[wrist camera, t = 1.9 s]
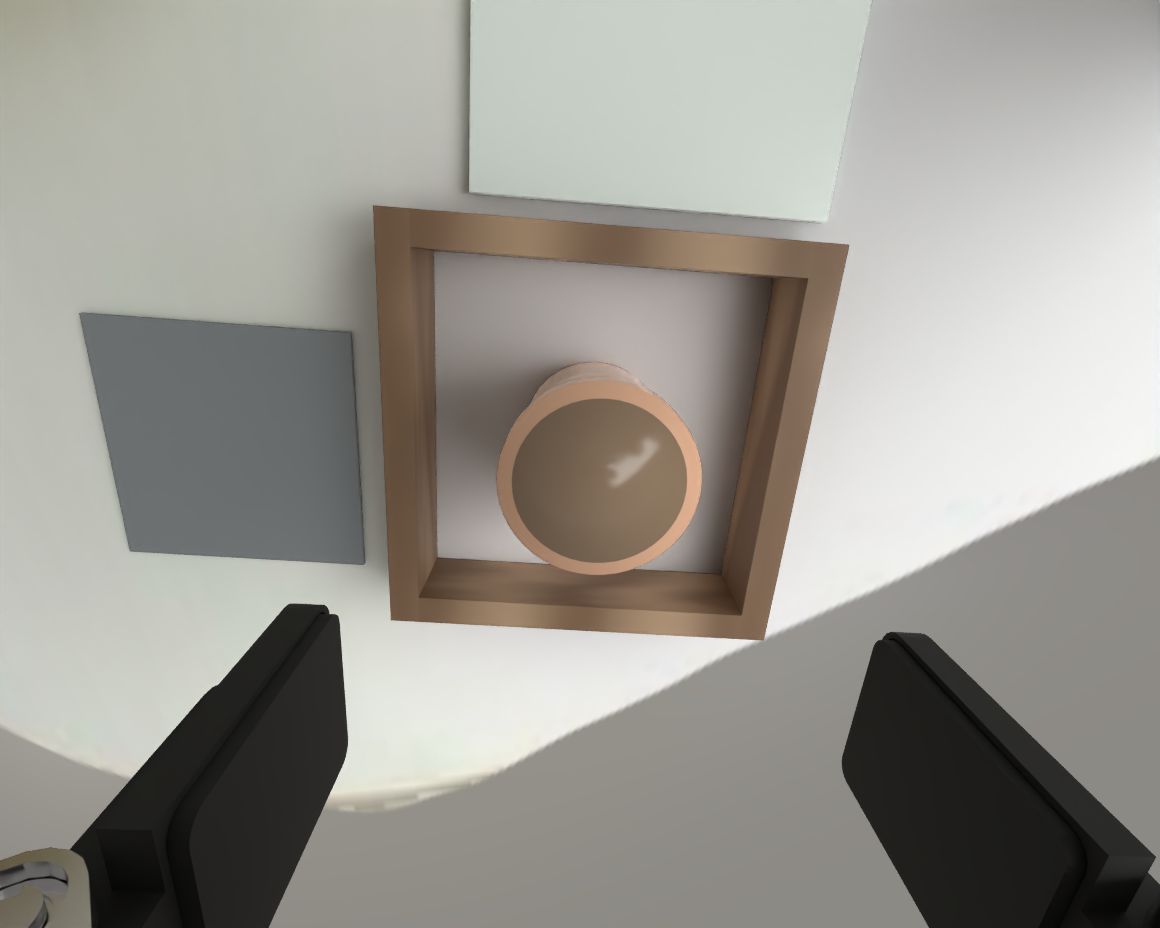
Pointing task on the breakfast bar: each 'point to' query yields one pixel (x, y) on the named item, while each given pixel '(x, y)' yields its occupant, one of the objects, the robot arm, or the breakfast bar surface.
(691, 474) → the terracotta pot
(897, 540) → the breakfast bar surface
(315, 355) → the slate mat
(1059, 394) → the breakfast bar surface
